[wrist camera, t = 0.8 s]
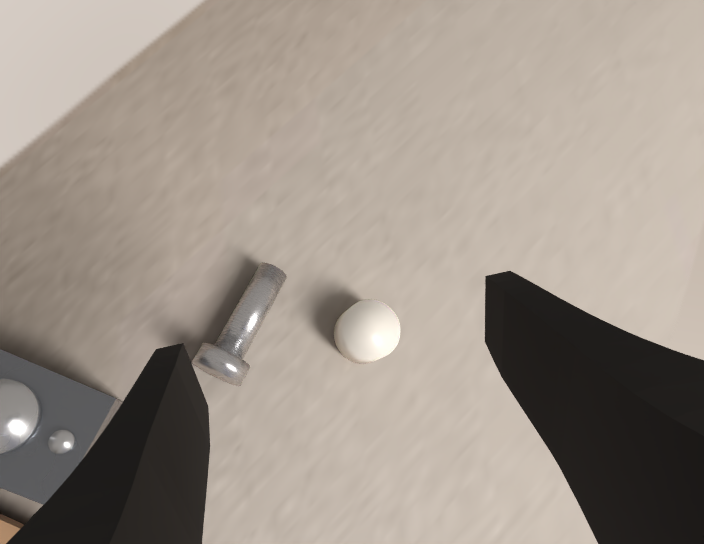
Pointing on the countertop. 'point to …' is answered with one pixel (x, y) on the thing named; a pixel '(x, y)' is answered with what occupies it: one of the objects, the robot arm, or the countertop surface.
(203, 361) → the bolt
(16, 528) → the stand
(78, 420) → the housing
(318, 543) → the countertop surface
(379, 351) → the white rounded knob
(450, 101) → the countertop surface
